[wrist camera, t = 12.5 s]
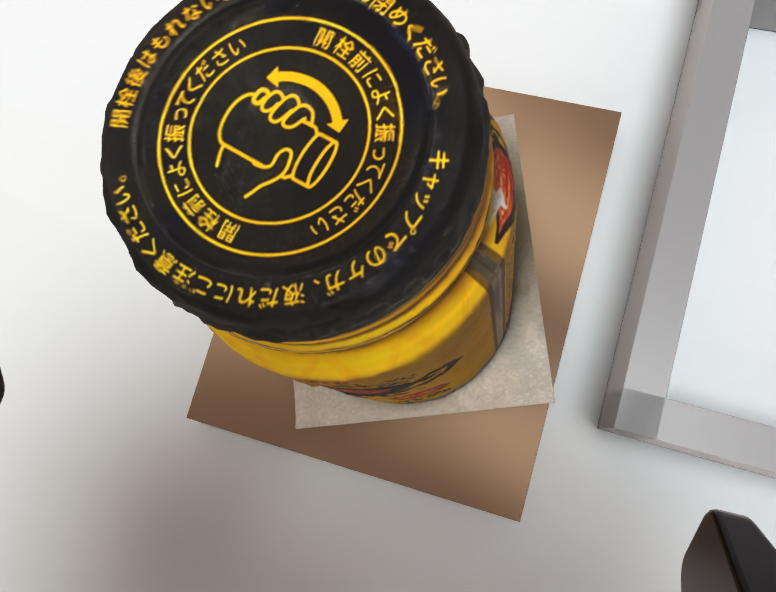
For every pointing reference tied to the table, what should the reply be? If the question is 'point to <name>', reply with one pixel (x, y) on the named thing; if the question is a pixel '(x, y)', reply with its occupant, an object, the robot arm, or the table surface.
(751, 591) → the robot arm
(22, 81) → the table surface
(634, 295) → the parts tub
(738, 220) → the table surface
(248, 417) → the walnut board
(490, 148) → the condiment
